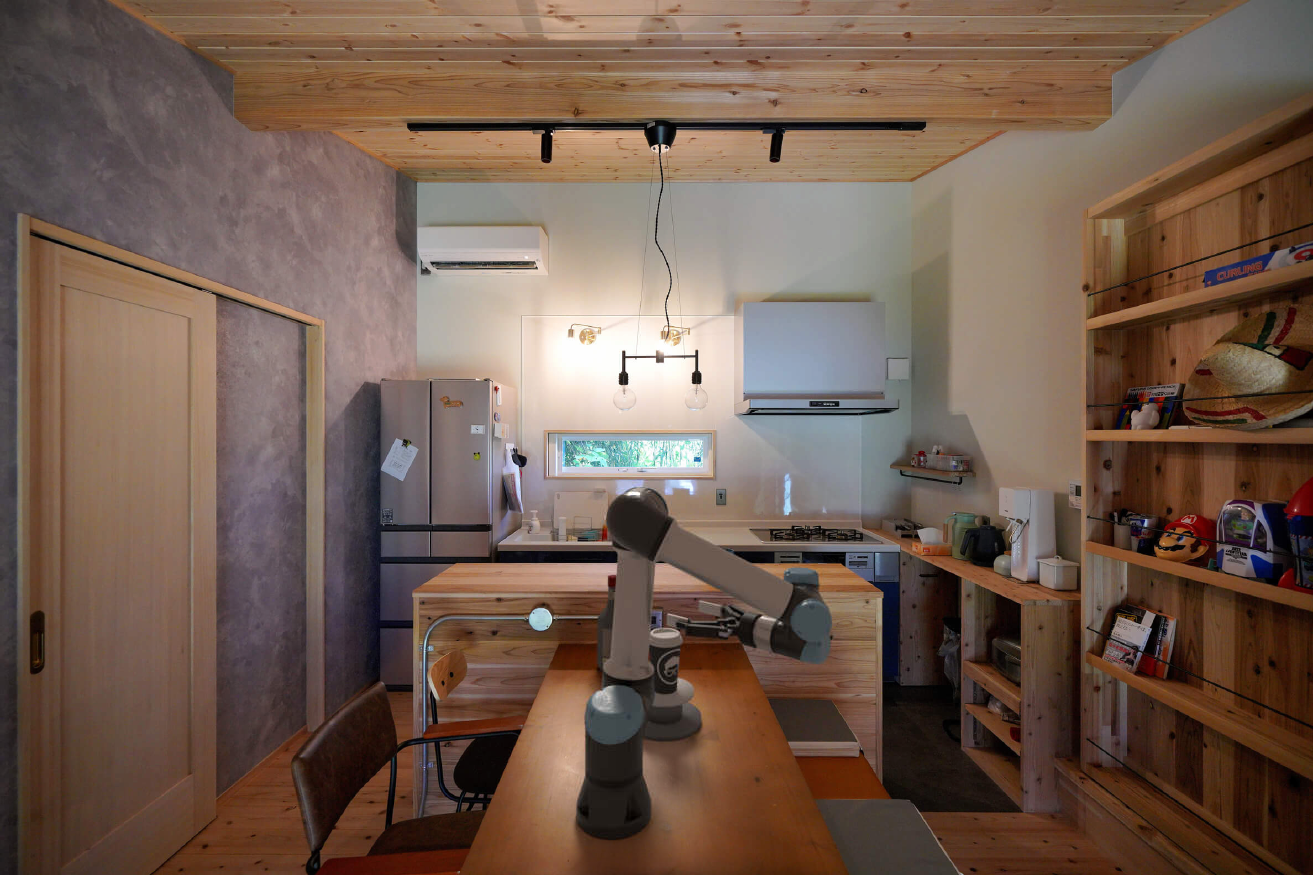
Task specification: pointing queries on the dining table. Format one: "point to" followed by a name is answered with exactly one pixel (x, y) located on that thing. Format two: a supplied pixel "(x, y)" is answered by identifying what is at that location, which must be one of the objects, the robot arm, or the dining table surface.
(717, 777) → the dining table surface
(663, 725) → the cup stand
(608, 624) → the liquor
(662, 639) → the coffee cup
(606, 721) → the robot arm
